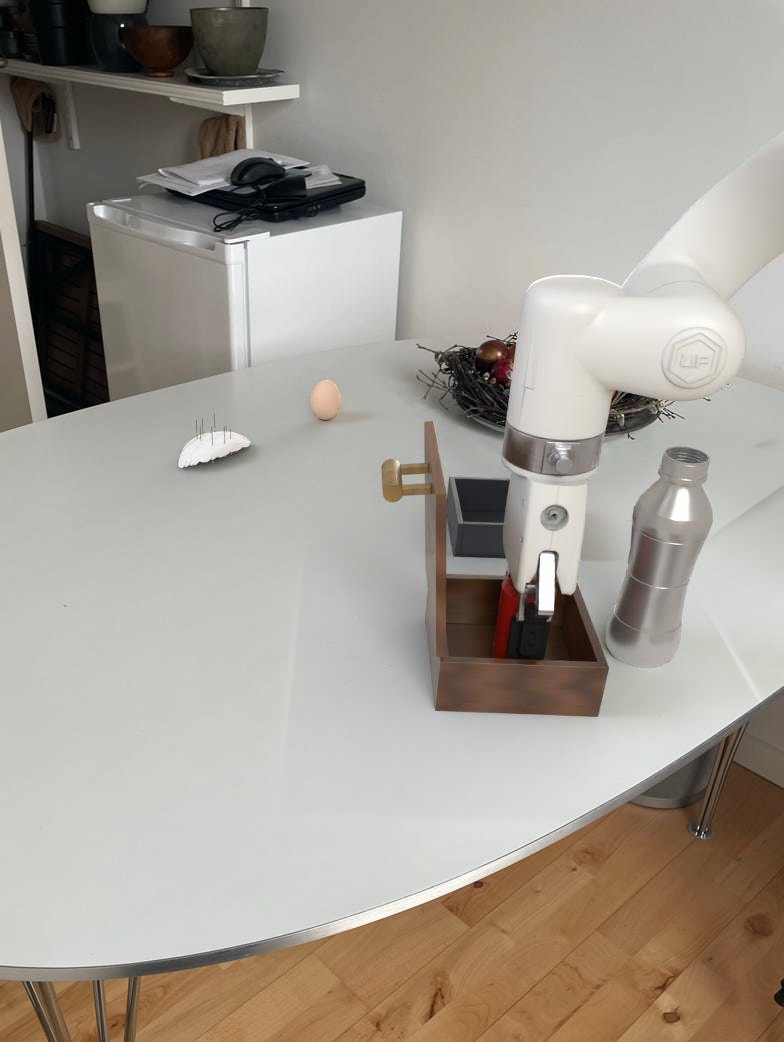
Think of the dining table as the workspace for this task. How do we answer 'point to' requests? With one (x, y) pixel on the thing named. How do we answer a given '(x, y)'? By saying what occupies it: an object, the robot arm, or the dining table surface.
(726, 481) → the dining table surface
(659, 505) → the silver metal bottle
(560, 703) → the chest
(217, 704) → the dining table surface
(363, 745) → the dining table surface
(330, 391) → the egg
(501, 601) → the red cylinder
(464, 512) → the bin
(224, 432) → the pincushion
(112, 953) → the dining table surface
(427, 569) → the lid
